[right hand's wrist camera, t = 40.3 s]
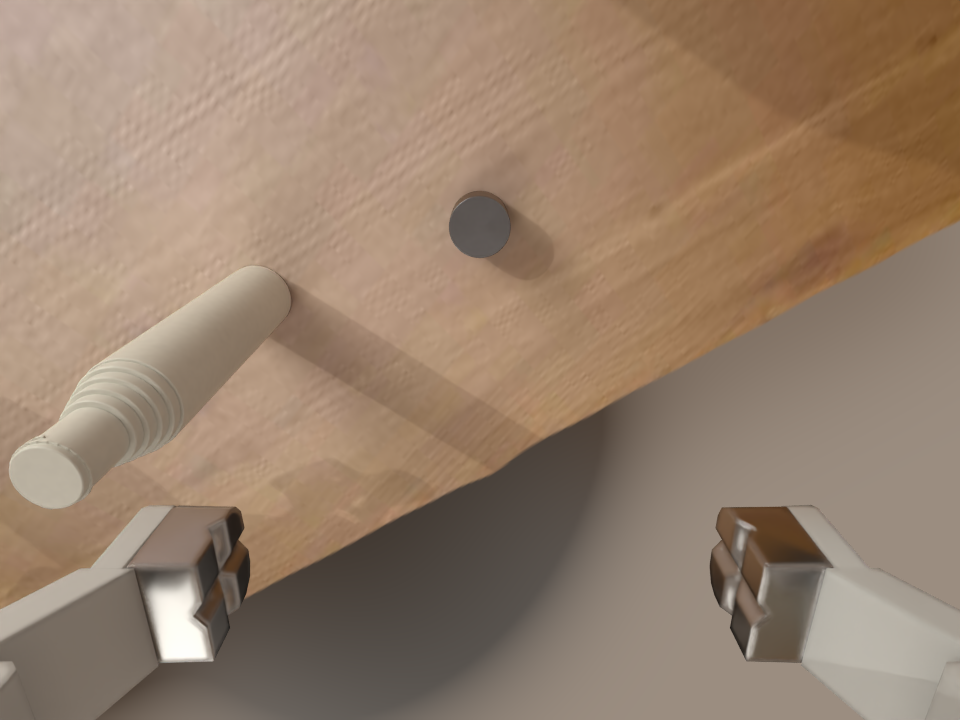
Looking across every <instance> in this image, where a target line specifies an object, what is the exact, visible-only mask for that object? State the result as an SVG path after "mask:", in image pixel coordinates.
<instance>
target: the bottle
mask: <svg viewBox="0 0 960 720" xmlns="http://www.w3.org/2000/svg"><path fill="white" fill-rule="evenodd" d="M290 307H291V295H290V291H289V289H288V286H287V285H286V283H285V281H284V280H283V279H282V278H281V277H280V276H279V275H278V274H277V273H275V272H274V271H272V270H270V269H268V268H265V267H262V266H246V267H243V268H241V269H239V270H237V271H236V272H234V273H233V274H231V275H230V276H228V277H227V278H225V279H224V280H222V281H221V282H219V283H218V284H216V285H215V286H213V287H212V288H210V289H209V290H207V291H206V292H204V293H203V294H201V295H200V296H198V297H197V298H195V299H194V300H192V301H191V302H189V303H188V304H186V305H185V306H183V307H182V308H180V309H179V310H177V311H176V312H174V313H173V314H171V315H170V316H168V317H167V318H165V319H164V320H162V321H161V322H159V323H158V324H156V325H155V326H153V327H152V328H150V329H149V330H147V331H146V332H144V333H143V334H141V335H140V336H138V337H137V338H135V339H134V340H132V341H131V342H129V343H128V344H126V345H125V346H123V347H122V348H120V349H119V350H117V351H116V352H115V353H113V354H112V355H110V356H109V357H107V358H106V359H104V360H103V361H101V362H100V363H98V364H97V365H95V366H94V367H92V368H91V369H90V370H89V371H88V373H87V374H86V375H85V376H84V377H83V378H82V379H81V380H80V382H79V383H78V385H77V387H76V389H75V391H74V392H73V394H72V396H71V398H70V400H69V401H68V403H67V404H66V406H65V409H64V411H63V412H62V414H61V416H60V419H59V422H57V423H56V424H55V425H53V426H52V427H51V428H49V429H48V430H47V431H45V432H44V433H43V434H41V435H40V436H37V437H35V438H33V439H31V440H29V441H27V442H26V443H25V444H24V445H22V446H21V447H19V448H18V449H17V450H16V451H15V453H14V454H13V455H12V458H11V461H10V463H9V465H10V466H9V475H10V479H11V482H12V484H13V485H14V487H15V488H16V490H17V491H18V492H19V493H20V494H21V495H22V496H23V497H24V498H26V499H27V500H28V501H30V502H32V503H34V504H36V505H38V506H41V507H42V508H47V509H61V508H65V507H69V506H71V505H73V504H75V503H77V502H79V501H80V500H82V499H84V498H85V497H86V496H87V495H88V494H89V493H90V492H91V489H92V487H93V486H94V485H95V484H96V483H97V482H98V481H99V480H100V479H101V478H102V477H103V476H104V475H105V474H106V473H107V472H108V471H109V470H110V469H111V468H112V467H116V466H120V465H122V464H124V463H127V462H130V461H132V460H135V459H136V458H138V457H142V456H144V455H146V454H148V453H151V452H154V451H156V450H158V449H159V448H161V447H162V446H164V445H165V444H167V443H169V442H170V441H171V440H172V439H174V438H175V437H176V436H177V434H178V433H179V432H180V431H181V430H182V429H183V428H184V427H185V426H186V425H187V424H188V423H189V422H190V420H191V419H192V418H193V417H194V416H195V415H196V414H197V413H198V412H199V411H200V410H201V409H202V408H203V406H204V405H205V404H206V403H207V402H208V401H209V400H210V399H211V398H212V397H213V396H214V395H215V394H216V392H217V391H218V390H219V389H220V388H221V387H222V386H223V385H224V384H225V383H226V382H227V381H228V380H229V378H230V377H231V376H232V375H233V374H234V373H235V372H236V371H237V370H238V369H239V368H240V367H241V366H242V364H243V363H244V362H245V361H246V360H247V359H248V358H249V357H250V356H251V355H252V354H253V353H254V351H255V350H256V349H257V348H258V347H259V346H260V345H261V344H262V343H263V342H264V341H265V340H266V339H267V337H268V336H269V335H270V334H271V333H272V332H273V331H274V330H275V329H276V328H277V327H278V326H279V325H280V323H281V322H282V321H283V320H284V319H285V318H286V317H287V315H288V313H289V311H290Z"/></svg>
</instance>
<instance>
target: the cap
mask: <svg viewBox="0 0 960 720" xmlns="http://www.w3.org/2000/svg"><path fill="white" fill-rule="evenodd" d="M449 232H450V236H451V239H452V241H453V243H454V244H455V246H456V247H457V248H458V249H459V250H460V251H461V252H463V253H464V254H466V255H468V256H471V257H475V258H484V257H489V256H491V255H494V254H495V253H497V252H498V251H500V250H501V249H502V248H503V247H504V245H505V244H506V242H507V240H508V238H509V234H510V219H509V216H508V212H507V209H506V207H505V205H504V203H503V202H502V201H501V200H500V199H499V198H498V197H497V196H495V195H493V194H491V193H489V192H485V191H475V192H471V193H468V194H466V195H464V196H463V197H462V198H461V199H459V201H458V202H457V203H456V204H455V206H454V208H453V211H452V214H451V218H450V222H449Z"/></svg>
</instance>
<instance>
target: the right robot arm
mask: <svg viewBox="0 0 960 720" xmlns="http://www.w3.org/2000/svg"><path fill="white" fill-rule="evenodd" d="M243 530H244V524H243V519H242V514H241V511H240V510H239V509H238V508H236V507H221V506H147V507H144V508H141V509H140V511H139V512H138V513H137V514H136V515H135V516H134V518H133V519H132V520H131V521H130V522H129V523H128V525H127V526H126V527H125V528H124V529H123V530H122V532H121V533H120V534H119V535H118V536H117V537H116V539H115V540H114V541H113V542H112V543H111V544H110V546H109V547H108V548H107V549H106V550H105V551H104V553H103V554H102V555H101V556H100V557H99V558H98V560H97V561H96V562H95V563H94V564H93V565H92V567H91V568H82V569H78V570H76V571H74V572H72V573H70V574H69V575H67V576H65V577H63V578H61V579H59V580H57V581H55V582H53V583H51V584H49V585H47V586H45V587H43V588H41V589H39V590H37V591H35V592H33V593H32V594H30V595H28V596H26V597H24V598H22V599H20V600H18V601H16V602H14V603H12V604H10V605H8V606H6V607H4V608H2V609H0V720H96V719H97V718H98V717H99V716H100V715H101V714H103V713H104V712H105V711H106V710H107V709H108V708H110V707H111V706H112V705H113V704H114V703H116V702H117V701H118V700H119V699H120V698H121V697H123V696H124V695H125V694H126V693H127V692H128V691H130V690H131V689H132V688H133V687H134V686H135V685H137V684H138V683H139V682H140V681H141V680H142V679H144V678H145V677H146V676H147V675H148V674H150V673H151V672H152V671H153V670H154V669H155V668H157V667H158V666H159V664H158V663H168V662H202V661H214V659H215V657H216V655H217V653H218V651H219V649H220V647H221V645H222V643H223V641H224V639H225V637H226V635H227V633H228V631H229V629H230V626H229V620H228V615H229V614H231V613H232V612H234V611H235V610H236V609H238V608H239V607H240V606H241V604H242V602H243V599H244V597H245V595H246V592H247V587H248V583H249V578H250V559H249V552H248V549H247V548H246V547H245V546H244V545H243V544H242V543H241V542H240V541H239V540H238V539H239V537H240V535H241V533H242V531H243ZM716 530H717V531H718V533H719V535H720V537H721V539H722V540H721V541H720V542H719V543H718V544H717V545H716V546H715V547H714V548H713V549H712V553H711V560H710V576H711V584H712V588H713V592H714V595H715V597H716V599H717V602H718V604H719V606H720V607H721V608H722V609H724V610H725V611H726V612H728V613H729V614H731V615H732V620H731V626H730V629H731V631H732V633H733V635H734V637H735V639H736V641H737V643H738V645H739V647H740V649H741V651H742V653H743V655H744V657H745V659H746V661H756V662H793V663H802V664H801V666H803V667H804V668H805V669H806V670H807V671H808V672H810V673H811V674H812V675H813V676H814V677H815V678H817V679H818V680H819V681H820V682H821V683H822V684H824V685H825V686H826V687H827V688H828V689H829V690H831V691H832V692H833V693H834V694H835V695H836V696H838V697H839V698H840V699H841V700H842V701H844V702H845V703H846V704H847V705H848V706H849V707H851V708H852V709H853V710H854V711H855V712H856V713H858V714H859V715H860V716H861V717H862V718H863V719H865V720H960V610H959V609H957V608H955V607H954V606H951V605H950V604H948V603H946V602H944V601H942V600H940V599H938V598H936V597H934V596H932V595H930V594H928V593H926V592H924V591H923V590H921V589H919V588H917V587H915V586H913V585H911V584H909V583H907V582H905V581H903V580H901V579H899V578H897V577H895V576H893V575H891V574H890V573H888V572H886V571H884V570H882V569H879V568H869V567H868V565H867V564H866V563H865V562H864V561H863V560H862V558H861V557H860V556H859V555H858V554H857V553H856V551H855V550H854V549H853V548H852V547H851V546H850V544H849V543H848V542H847V541H846V540H845V539H844V537H843V536H842V535H841V534H840V533H839V532H838V530H837V529H836V528H835V527H834V526H833V525H832V523H831V522H830V521H829V520H828V519H827V518H826V516H825V515H824V514H823V513H822V512H821V511H820V509H818V508H816V507H814V506H812V505H799V506H781V507H726V508H721V510H720V512H719V514H718V518H717V523H716Z"/></svg>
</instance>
